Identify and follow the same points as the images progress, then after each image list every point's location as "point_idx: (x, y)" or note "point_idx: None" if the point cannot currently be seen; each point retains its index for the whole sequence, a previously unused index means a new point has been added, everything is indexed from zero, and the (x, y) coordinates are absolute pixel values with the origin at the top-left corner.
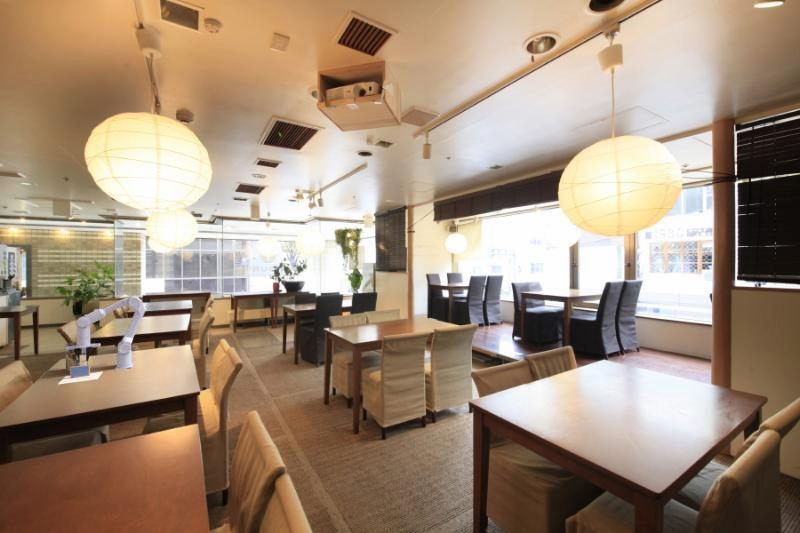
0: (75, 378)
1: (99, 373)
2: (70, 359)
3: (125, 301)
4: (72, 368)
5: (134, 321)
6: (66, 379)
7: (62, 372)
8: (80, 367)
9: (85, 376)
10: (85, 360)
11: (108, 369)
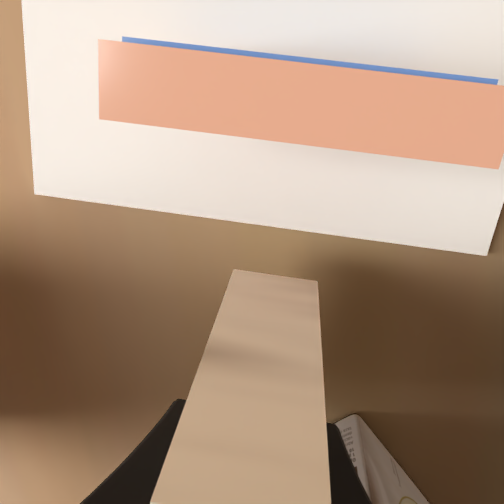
0: (363, 4)
1: (59, 108)
2: None
3: None
4: (458, 75)
5: None
6: (489, 31)
7: (495, 500)
8: (292, 59)
9: (229, 45)
10: (201, 361)
11: (11, 308)
